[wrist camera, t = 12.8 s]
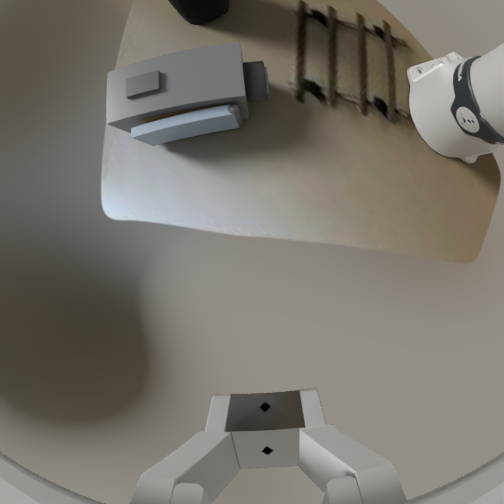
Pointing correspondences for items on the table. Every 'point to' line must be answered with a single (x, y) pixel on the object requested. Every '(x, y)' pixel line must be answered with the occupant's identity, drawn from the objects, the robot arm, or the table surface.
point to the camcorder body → (184, 85)
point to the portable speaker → (200, 9)
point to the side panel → (189, 125)
